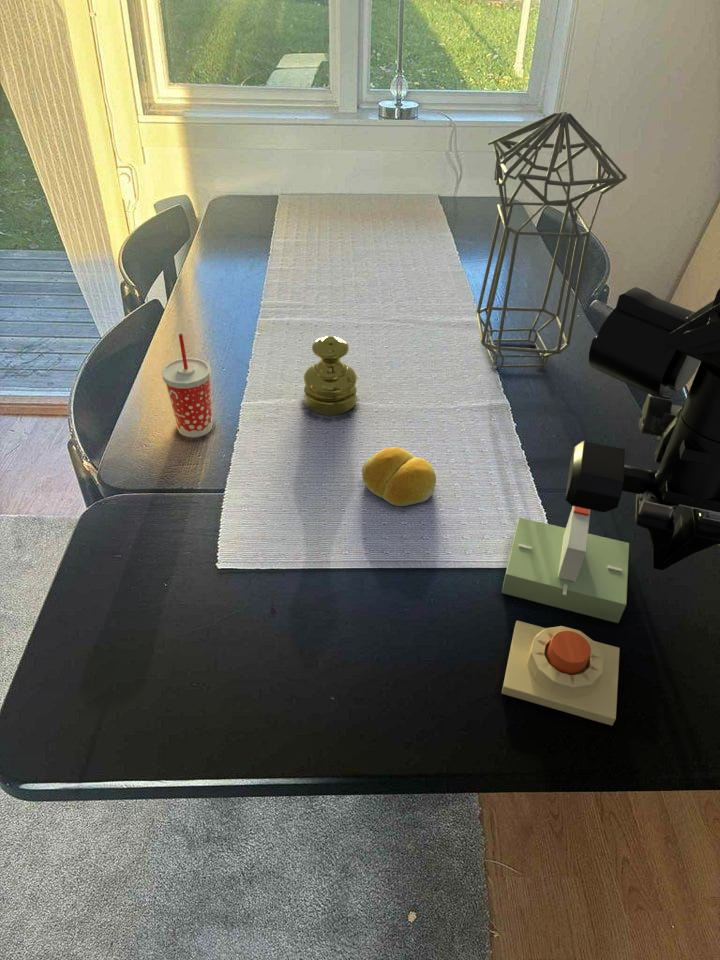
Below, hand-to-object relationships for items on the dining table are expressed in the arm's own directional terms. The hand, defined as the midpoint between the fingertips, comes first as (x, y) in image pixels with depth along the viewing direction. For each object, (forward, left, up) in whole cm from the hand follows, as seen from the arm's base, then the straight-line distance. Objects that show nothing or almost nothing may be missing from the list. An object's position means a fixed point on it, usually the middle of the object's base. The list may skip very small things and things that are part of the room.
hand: (657, 565), depth 62 cm
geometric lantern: (+18, -52, -12) cm, 56 cm away
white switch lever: (+6, -7, -9) cm, 13 cm away
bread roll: (+27, -16, -12) cm, 34 cm away
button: (+5, +5, -9) cm, 12 cm away
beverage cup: (+56, -18, -12) cm, 60 cm away
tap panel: (+6, -7, -12) cm, 15 cm away
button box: (+5, +5, -12) cm, 14 cm away
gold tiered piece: (+41, -30, -12) cm, 52 cm away
